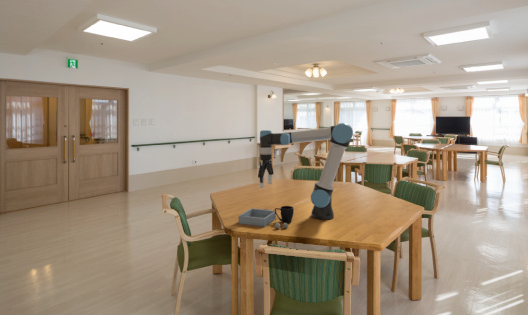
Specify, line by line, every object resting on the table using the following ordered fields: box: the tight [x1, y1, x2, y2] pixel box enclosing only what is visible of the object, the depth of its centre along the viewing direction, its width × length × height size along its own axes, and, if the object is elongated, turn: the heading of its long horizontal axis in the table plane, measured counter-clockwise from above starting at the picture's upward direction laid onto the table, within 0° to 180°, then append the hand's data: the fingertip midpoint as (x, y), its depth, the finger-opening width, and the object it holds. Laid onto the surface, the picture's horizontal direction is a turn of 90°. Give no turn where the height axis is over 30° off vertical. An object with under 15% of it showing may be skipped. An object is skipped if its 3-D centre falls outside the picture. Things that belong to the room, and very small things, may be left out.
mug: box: [274, 205, 295, 224], centre depth 208 cm, size 8×12×10 cm
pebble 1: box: [274, 222, 281, 230], centre depth 195 cm, size 3×3×3 cm
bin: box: [238, 207, 277, 228], centre depth 210 cm, size 18×20×5 cm
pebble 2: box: [282, 223, 289, 229], centre depth 195 cm, size 3×3×3 cm
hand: (266, 185), depth 216 cm, fingers open, 13 cm apart
